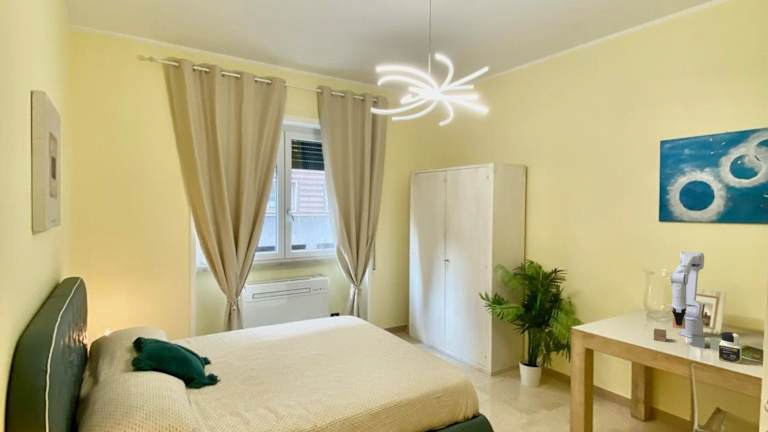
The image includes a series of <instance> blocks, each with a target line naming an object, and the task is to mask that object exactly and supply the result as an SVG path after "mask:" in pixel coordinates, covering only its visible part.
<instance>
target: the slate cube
mask: <svg viewBox="0 0 768 432" xmlns="http://www.w3.org/2000/svg"><path fill="white" fill-rule="evenodd" d="M691 347H695V348H699V349H700V348H701V349H705V348H706V336H705V335H704V334H703V335H697V334H692V338H691Z"/></svg>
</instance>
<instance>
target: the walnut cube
mask: <svg viewBox="0 0 768 432" xmlns="http://www.w3.org/2000/svg"><path fill="white" fill-rule="evenodd" d="M653 341H654V342H655V341H656V342H661V343H662V342H664V343H666V342H667V330H666V329H662V328H653Z"/></svg>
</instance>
